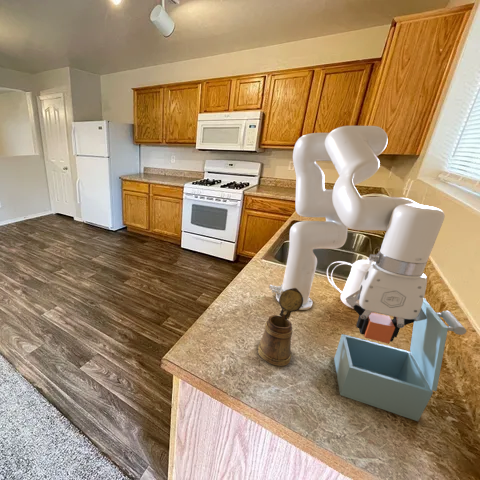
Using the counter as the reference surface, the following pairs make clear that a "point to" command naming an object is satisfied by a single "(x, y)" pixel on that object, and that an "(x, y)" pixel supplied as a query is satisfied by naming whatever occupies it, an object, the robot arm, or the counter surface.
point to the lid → (432, 341)
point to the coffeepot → (352, 278)
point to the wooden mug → (280, 330)
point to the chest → (381, 377)
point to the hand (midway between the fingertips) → (374, 333)
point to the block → (379, 328)
